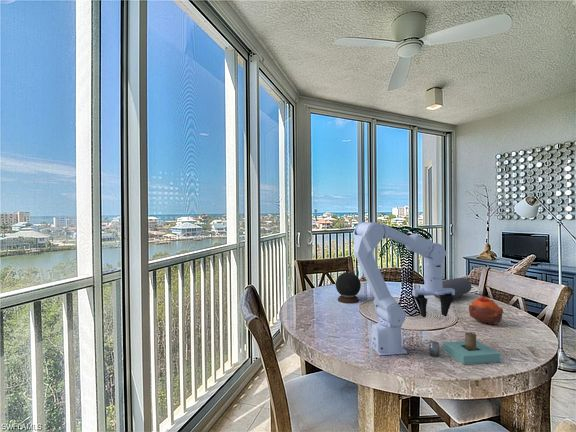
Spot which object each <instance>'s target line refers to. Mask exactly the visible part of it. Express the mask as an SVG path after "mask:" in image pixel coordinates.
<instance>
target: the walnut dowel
mask: <svg viewBox="0 0 576 432" xmlns="http://www.w3.org/2000/svg"><path fill="white" fill-rule="evenodd" d="M476 340H477V334H476V333H475V332H469V331H467V332H465V333H464V341H465V349H466V350H468V351H476Z"/></svg>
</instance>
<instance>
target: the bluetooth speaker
mask: <svg viewBox="0 0 576 432" xmlns="http://www.w3.org/2000/svg"><path fill="white" fill-rule="evenodd" d="M471 283H472V282H470V280H469V279H467V278H465V277H458V278H450V279H445V280H442V285H443V288H452V289H455V295H452V296H454V300H456V299H459V298H460V296H462V295H463V296H464V295H465V294H467V293H470V292H471V290H472V284H471ZM433 296H434V297H435V298H436V299H438V300H440V296H439V295H433Z"/></svg>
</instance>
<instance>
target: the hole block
mask: <svg viewBox="0 0 576 432" xmlns="http://www.w3.org/2000/svg"><path fill="white" fill-rule="evenodd" d="M442 350H443V351H444V352H445V353H446V354H448V355H450V357H452V358H454V359H455V360H456V361H458V362H459V363H461V364H462V365H475V364H485V363H487V364H488V363H497V362H498V363H499V362H501V353H500V352H499V351H497V350H495V349H493V348H492V347H489V346H487V345H486V344H484V343H482V342H480V341H478V340H477V339H476V351H468V350H466V349H465V340H458V341H447V342H445V341H443V342H442Z"/></svg>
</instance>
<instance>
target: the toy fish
mask: <svg viewBox="0 0 576 432" xmlns="http://www.w3.org/2000/svg"><path fill="white" fill-rule="evenodd" d="M468 313H469V316H470V317H471V318H473V319H475V320H476V321H477V322H481V323H483V324H484V323H485V324H486V323H487V324H489V325H495V324H496V323H497V324H498V323H500V322H501V321H502V318H503V314H504V308H503V307H499V305H498V304H497V303H495V301H494V300H493V299H490V298H488V297H487V296H486V295H481V296H478V297H477V298H476V299H474V301H472V302H471V304H469V305H468Z"/></svg>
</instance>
